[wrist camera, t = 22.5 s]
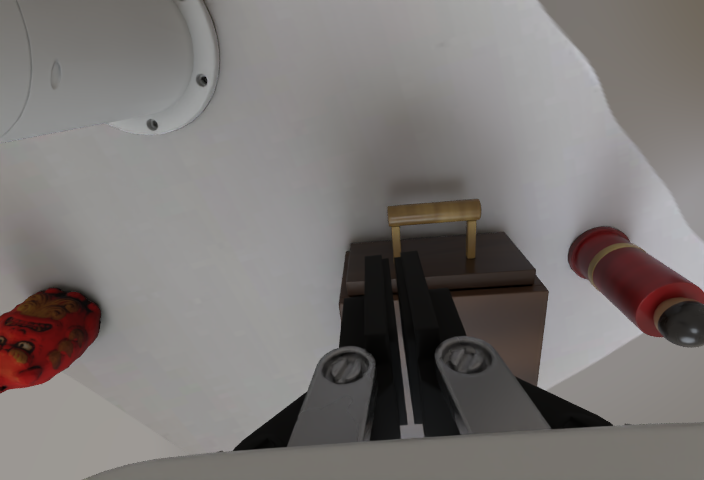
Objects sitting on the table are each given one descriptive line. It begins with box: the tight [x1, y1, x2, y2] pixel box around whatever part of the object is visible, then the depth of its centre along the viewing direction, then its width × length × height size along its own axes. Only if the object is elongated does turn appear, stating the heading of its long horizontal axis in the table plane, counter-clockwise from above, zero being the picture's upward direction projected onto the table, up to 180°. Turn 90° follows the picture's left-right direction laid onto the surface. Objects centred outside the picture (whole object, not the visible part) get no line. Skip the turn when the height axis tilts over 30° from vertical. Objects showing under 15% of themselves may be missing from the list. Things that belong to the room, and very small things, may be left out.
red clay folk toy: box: [0, 288, 101, 393], centre depth 32 cm, size 8×7×15 cm
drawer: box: [346, 199, 536, 296], centre depth 32 cm, size 19×13×7 cm
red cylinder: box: [568, 227, 704, 347], centre depth 28 cm, size 5×5×12 cm
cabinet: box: [339, 251, 549, 439], centre depth 33 cm, size 16×14×9 cm
